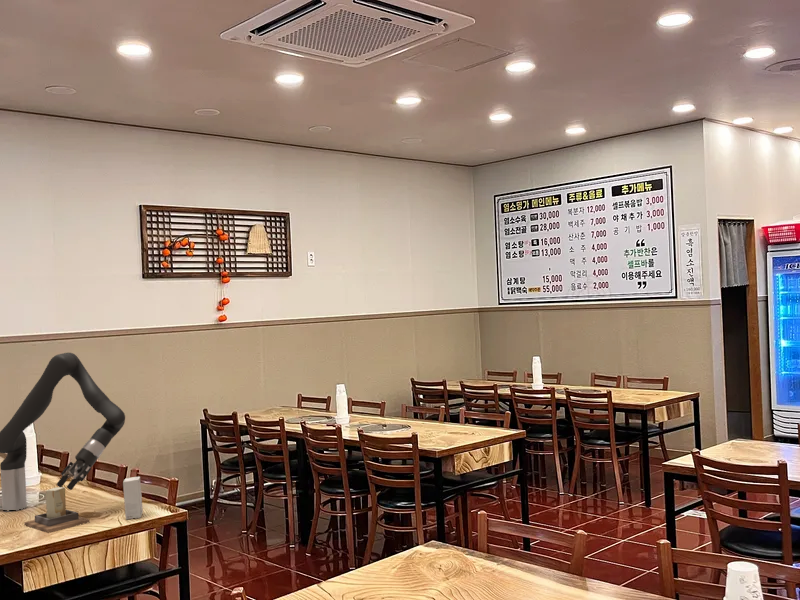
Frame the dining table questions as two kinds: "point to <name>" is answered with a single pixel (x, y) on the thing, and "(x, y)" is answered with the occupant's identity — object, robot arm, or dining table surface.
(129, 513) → the skincare box
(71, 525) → the collar board
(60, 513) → the skincare box
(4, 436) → the robot arm
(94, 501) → the dining table surface
